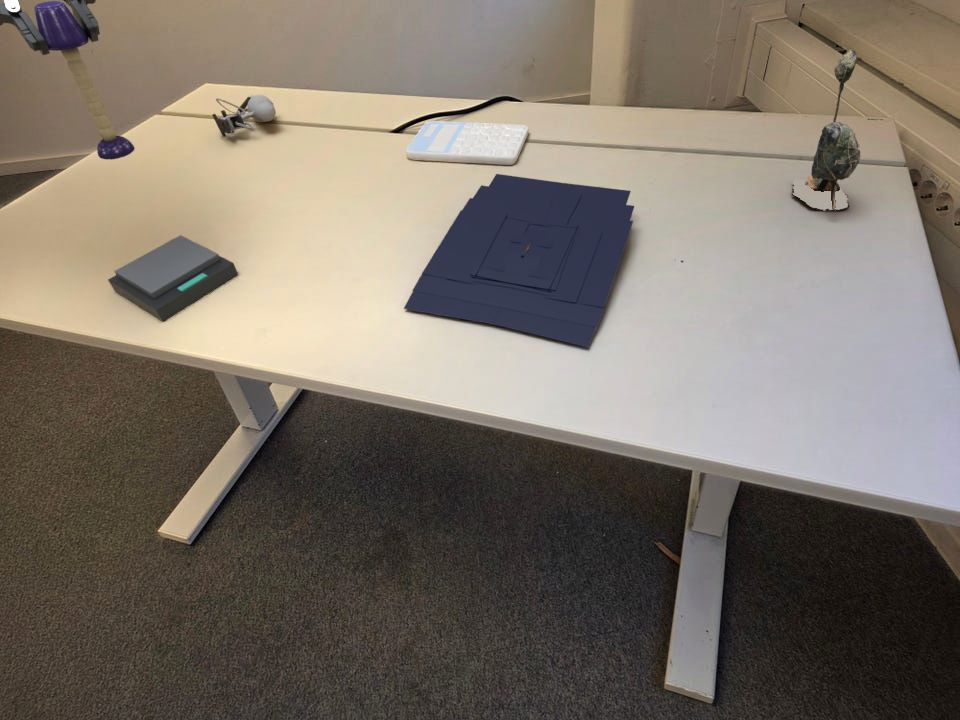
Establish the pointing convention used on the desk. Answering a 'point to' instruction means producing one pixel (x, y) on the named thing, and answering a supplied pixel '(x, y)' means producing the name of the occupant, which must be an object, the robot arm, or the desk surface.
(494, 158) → the calculator
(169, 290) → the scale
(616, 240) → the navy flat block
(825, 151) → the grey stone sculpture
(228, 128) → the clip-on lamp
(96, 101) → the toy lamp
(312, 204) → the desk surface
